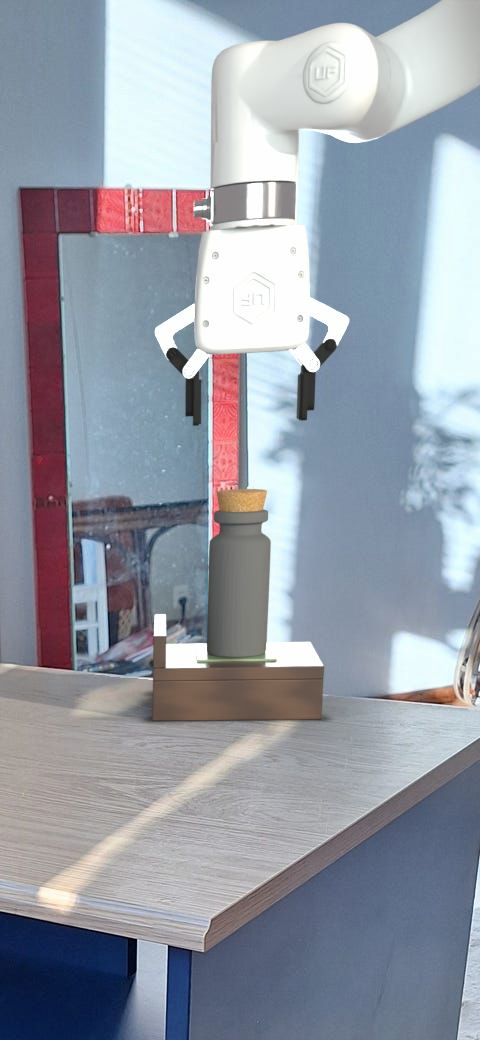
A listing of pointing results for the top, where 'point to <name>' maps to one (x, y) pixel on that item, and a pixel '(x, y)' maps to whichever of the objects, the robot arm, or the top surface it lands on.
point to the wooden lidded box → (234, 682)
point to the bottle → (239, 576)
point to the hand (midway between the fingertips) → (249, 422)
